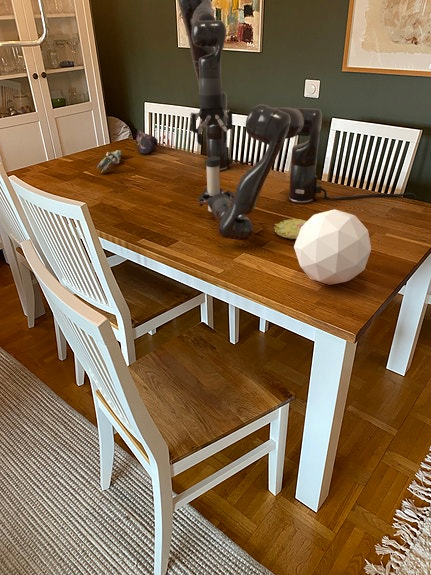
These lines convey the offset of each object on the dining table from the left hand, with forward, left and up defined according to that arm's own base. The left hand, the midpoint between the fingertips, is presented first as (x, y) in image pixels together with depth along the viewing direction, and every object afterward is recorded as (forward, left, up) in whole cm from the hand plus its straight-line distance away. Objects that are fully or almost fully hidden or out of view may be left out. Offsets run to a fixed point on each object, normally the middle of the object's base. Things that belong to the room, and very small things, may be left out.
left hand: (212, 143), depth 152 cm
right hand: (-1, -3, -18) cm, 18 cm away
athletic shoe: (-14, -89, -24) cm, 94 cm away
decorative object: (-13, +34, -24) cm, 44 cm away
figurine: (+12, -76, -24) cm, 81 cm away
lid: (0, 0, -5) cm, 5 cm away
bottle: (0, 0, -24) cm, 24 cm away
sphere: (0, +60, -24) cm, 65 cm away
